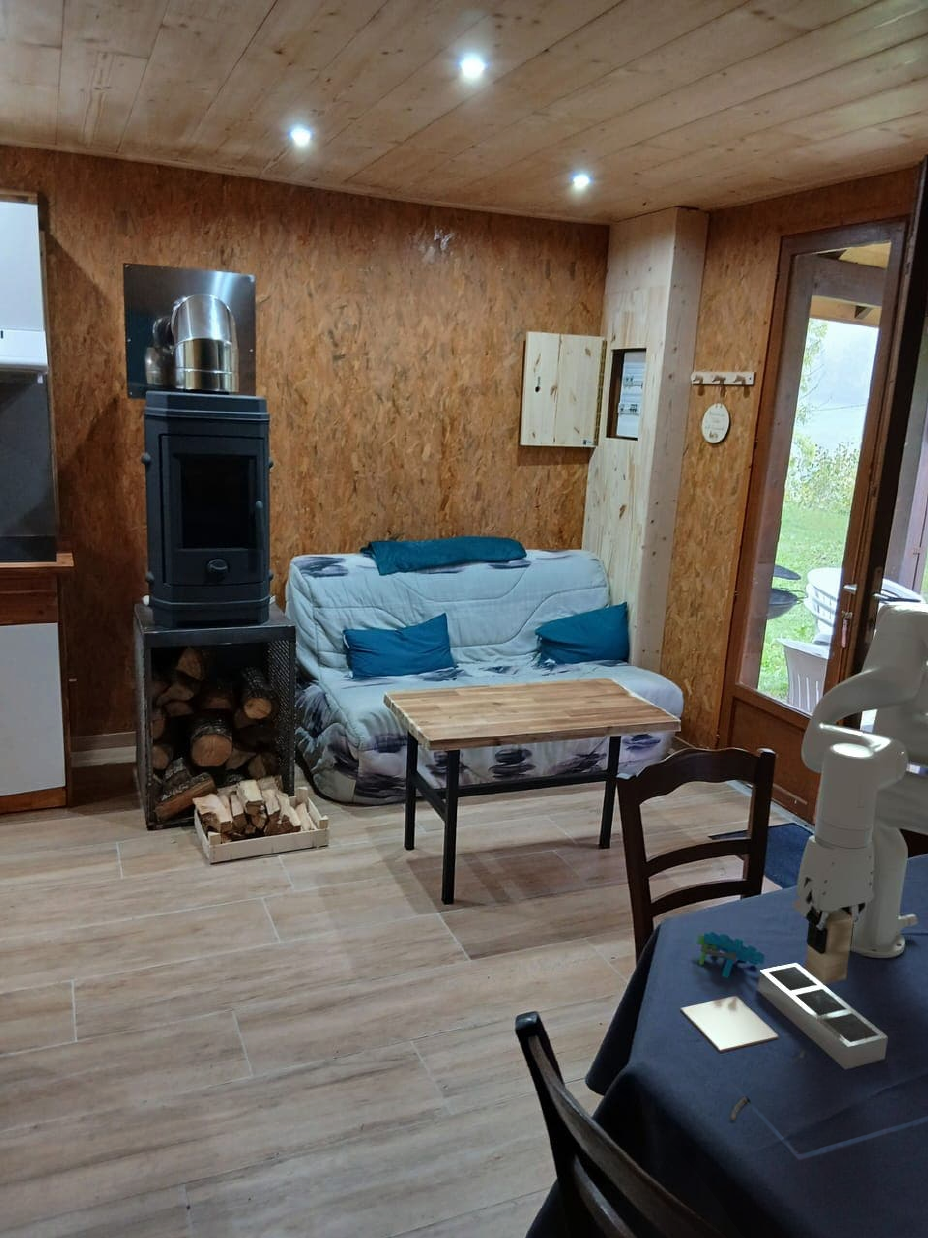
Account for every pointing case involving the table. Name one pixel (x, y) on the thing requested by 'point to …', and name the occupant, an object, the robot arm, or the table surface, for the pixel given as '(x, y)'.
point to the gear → (727, 950)
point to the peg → (832, 949)
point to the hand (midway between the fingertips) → (828, 945)
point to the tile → (729, 1023)
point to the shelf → (823, 1016)
